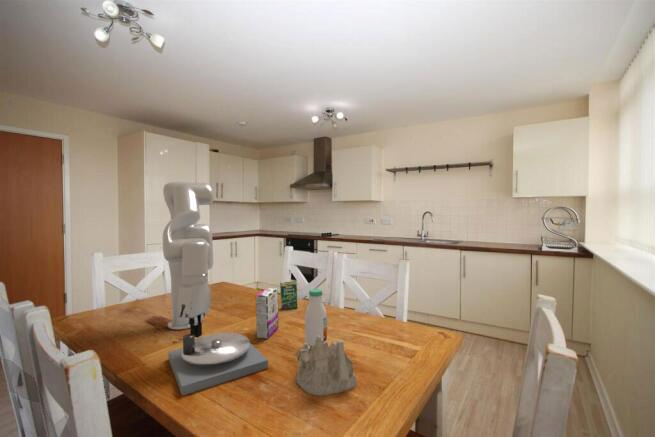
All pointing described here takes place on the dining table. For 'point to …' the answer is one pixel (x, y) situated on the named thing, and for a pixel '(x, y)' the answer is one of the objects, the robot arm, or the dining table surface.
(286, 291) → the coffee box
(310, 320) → the milk bottle
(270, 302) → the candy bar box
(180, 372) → the grey base block
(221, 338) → the handwheel
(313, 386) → the grey rough lump
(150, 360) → the dining table surface
